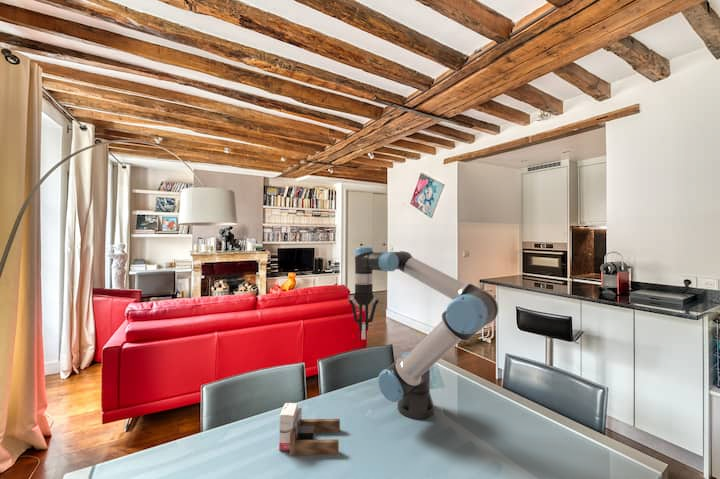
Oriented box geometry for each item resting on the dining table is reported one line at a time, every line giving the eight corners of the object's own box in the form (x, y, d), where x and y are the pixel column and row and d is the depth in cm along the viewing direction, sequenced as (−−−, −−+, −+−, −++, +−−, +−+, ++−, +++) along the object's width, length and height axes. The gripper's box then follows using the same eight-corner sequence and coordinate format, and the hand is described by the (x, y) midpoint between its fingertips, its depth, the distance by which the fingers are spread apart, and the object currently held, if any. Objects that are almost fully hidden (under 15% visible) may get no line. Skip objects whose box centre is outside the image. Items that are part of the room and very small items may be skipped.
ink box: (293, 450, 103) (293, 415, 104) (278, 451, 103) (278, 415, 103) (298, 434, 112) (297, 401, 112) (284, 434, 112) (284, 402, 112)
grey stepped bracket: (315, 432, 113) (315, 407, 113) (311, 449, 103) (312, 423, 104) (298, 432, 113) (298, 408, 113) (293, 450, 103) (293, 423, 103)
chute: (339, 429, 115) (339, 410, 115) (338, 454, 102) (338, 433, 102) (297, 430, 115) (297, 411, 115) (289, 455, 101) (290, 433, 101)
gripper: (378, 282, 135) (377, 335, 135) (348, 282, 135) (348, 335, 135) (379, 284, 128) (379, 341, 127) (348, 284, 127) (348, 341, 127)
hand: (363, 338), depth 131 cm, fingers closed
